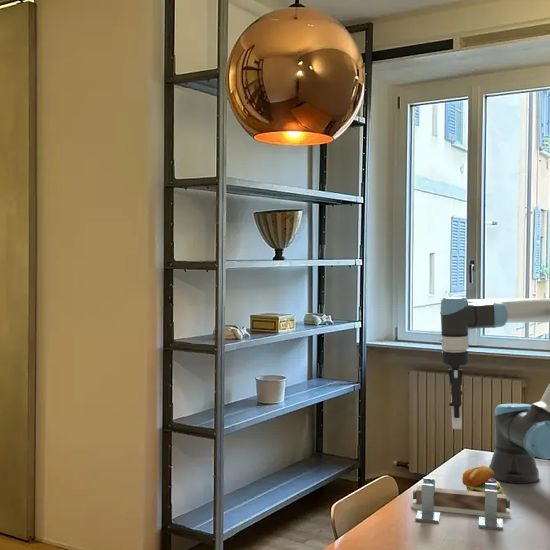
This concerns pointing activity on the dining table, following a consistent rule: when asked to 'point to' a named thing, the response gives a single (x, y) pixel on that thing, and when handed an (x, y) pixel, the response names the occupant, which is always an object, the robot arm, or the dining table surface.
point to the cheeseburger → (479, 479)
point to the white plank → (462, 510)
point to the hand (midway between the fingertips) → (456, 422)
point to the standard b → (490, 509)
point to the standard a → (428, 502)
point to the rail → (462, 499)
